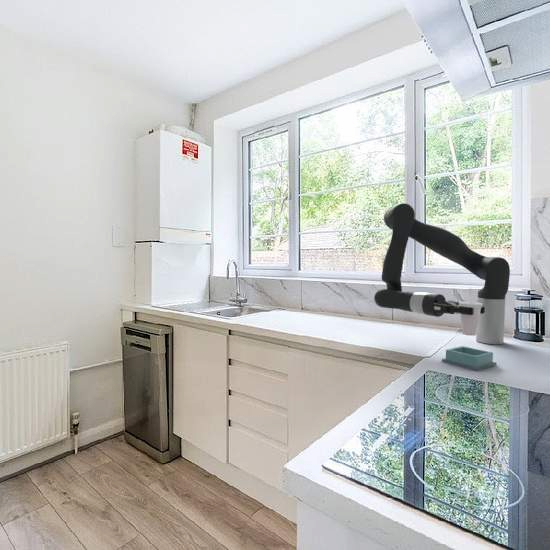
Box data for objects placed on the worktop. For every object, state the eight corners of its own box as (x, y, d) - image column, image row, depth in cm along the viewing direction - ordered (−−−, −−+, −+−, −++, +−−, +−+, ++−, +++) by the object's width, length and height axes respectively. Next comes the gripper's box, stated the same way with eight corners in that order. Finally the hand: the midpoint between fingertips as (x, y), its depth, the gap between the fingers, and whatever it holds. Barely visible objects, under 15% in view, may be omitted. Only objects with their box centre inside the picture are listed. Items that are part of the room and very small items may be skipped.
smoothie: (474, 332, 110) (477, 288, 109) (484, 337, 104) (487, 290, 103) (453, 331, 111) (455, 287, 110) (462, 336, 105) (464, 289, 104)
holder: (460, 356, 115) (461, 345, 115) (496, 365, 106) (497, 352, 106) (441, 361, 109) (442, 349, 109) (478, 371, 100) (478, 358, 100)
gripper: (415, 293, 115) (466, 299, 101) (440, 292, 123) (491, 297, 109) (414, 316, 115) (465, 325, 101) (439, 313, 123) (490, 321, 109)
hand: (478, 310), depth 105 cm, fingers closed on smoothie, 6 cm apart
